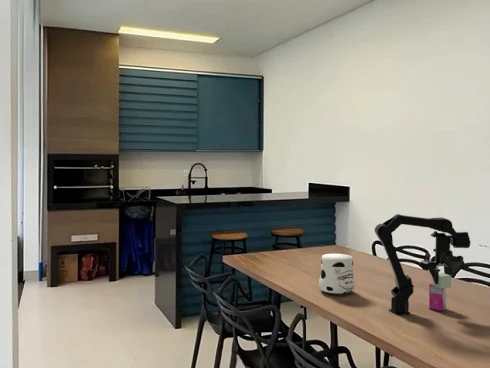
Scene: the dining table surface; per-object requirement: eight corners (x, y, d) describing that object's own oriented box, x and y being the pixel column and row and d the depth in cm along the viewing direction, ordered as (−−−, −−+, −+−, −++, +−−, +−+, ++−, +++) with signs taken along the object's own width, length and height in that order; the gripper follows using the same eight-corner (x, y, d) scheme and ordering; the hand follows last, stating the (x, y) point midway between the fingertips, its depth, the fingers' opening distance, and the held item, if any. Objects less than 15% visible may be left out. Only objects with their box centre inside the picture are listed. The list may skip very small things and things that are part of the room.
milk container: (352, 299, 218) (352, 261, 217) (315, 295, 224) (316, 258, 223) (356, 289, 234) (357, 254, 233) (322, 286, 240) (323, 252, 239)
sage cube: (440, 288, 193) (441, 276, 193) (432, 285, 198) (433, 273, 198) (450, 287, 195) (451, 275, 195) (442, 284, 200) (442, 272, 199)
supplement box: (432, 306, 208) (433, 281, 207) (446, 308, 204) (447, 283, 203) (428, 309, 203) (429, 283, 203) (442, 312, 199) (443, 286, 199)
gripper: (437, 252, 185) (436, 290, 186) (475, 250, 191) (474, 287, 191) (419, 247, 196) (418, 283, 197) (455, 245, 201) (454, 280, 202)
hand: (441, 283), depth 196 cm, fingers closed on sage cube, 5 cm apart
